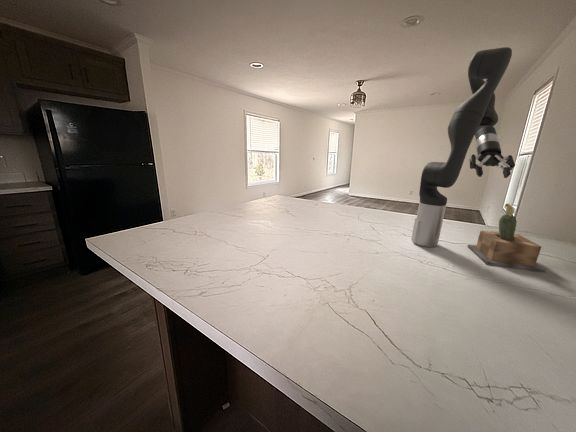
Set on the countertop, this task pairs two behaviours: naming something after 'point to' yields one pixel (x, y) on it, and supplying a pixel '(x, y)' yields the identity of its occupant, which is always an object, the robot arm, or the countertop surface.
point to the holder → (507, 251)
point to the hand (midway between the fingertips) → (493, 176)
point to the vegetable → (507, 224)
